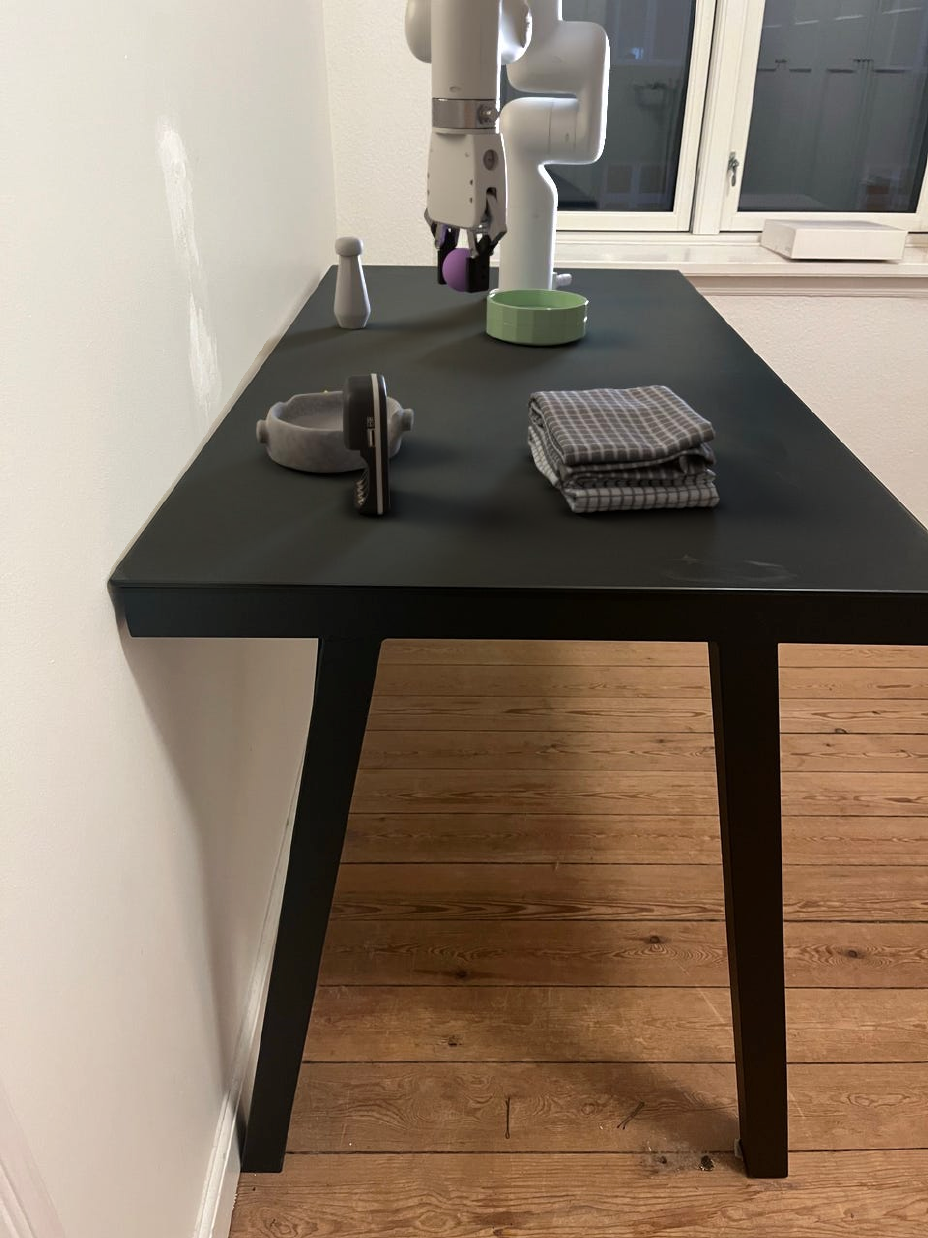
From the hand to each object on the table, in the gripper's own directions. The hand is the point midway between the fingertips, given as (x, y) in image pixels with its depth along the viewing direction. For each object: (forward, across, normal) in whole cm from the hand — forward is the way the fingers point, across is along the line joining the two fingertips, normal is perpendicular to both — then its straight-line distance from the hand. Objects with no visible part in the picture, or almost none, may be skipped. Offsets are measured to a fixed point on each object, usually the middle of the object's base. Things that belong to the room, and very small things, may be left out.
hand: (463, 285), depth 111 cm
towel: (+12, -34, +8) cm, 37 cm away
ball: (-2, 0, 0) cm, 2 cm away
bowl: (+13, +15, -26) cm, 32 cm away
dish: (+12, -12, +26) cm, 32 cm away
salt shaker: (+13, +36, -6) cm, 38 cm away
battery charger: (+12, -25, +30) cm, 41 cm away
